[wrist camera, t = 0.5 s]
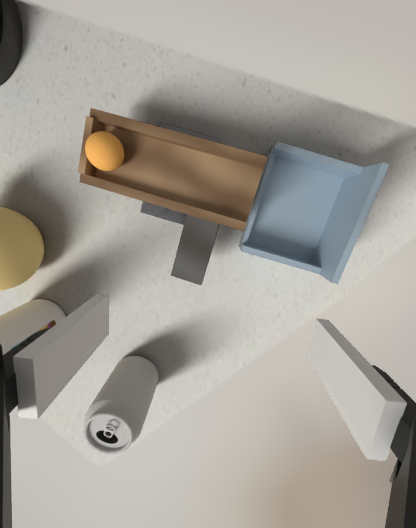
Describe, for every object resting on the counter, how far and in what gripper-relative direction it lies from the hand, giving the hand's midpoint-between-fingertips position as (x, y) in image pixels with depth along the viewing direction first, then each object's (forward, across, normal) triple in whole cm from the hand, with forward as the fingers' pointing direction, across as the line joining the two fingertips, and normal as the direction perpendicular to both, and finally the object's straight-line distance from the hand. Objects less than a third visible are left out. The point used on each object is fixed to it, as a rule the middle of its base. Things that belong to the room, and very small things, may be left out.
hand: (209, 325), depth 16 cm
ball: (+15, -13, +12) cm, 23 cm away
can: (+22, -11, -22) cm, 33 cm away
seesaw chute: (+17, -7, +7) cm, 19 cm away
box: (+22, +10, +8) cm, 25 cm away
